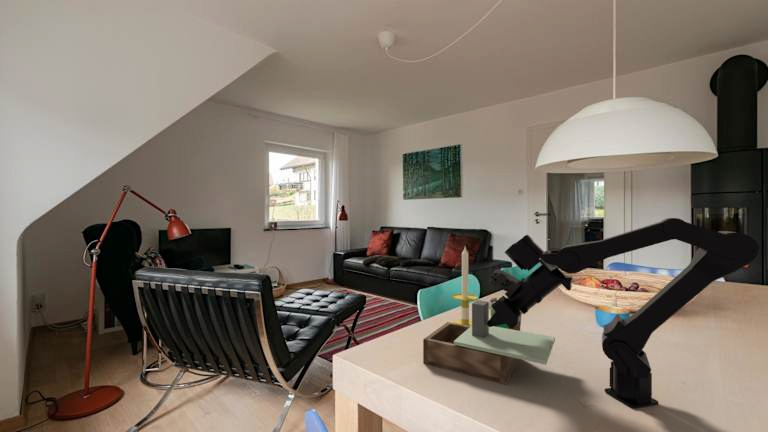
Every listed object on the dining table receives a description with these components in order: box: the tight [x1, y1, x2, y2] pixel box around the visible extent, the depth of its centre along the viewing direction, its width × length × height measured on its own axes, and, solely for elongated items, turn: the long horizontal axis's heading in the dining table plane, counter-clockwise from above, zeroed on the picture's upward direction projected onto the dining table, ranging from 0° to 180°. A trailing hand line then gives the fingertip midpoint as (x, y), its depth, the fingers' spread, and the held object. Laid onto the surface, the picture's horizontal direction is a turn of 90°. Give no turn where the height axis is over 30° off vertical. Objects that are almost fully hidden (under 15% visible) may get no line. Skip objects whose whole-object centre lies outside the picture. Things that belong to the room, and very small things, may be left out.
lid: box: [454, 299, 556, 365], centre depth 81 cm, size 20×16×9 cm
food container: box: [488, 297, 524, 331], centre depth 104 cm, size 12×6×10 cm, turn 21°
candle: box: [450, 246, 479, 326], centre depth 112 cm, size 10×10×27 cm
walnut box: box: [422, 321, 521, 385], centre depth 86 cm, size 20×16×6 cm
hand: (488, 325), depth 84 cm, fingers closed
